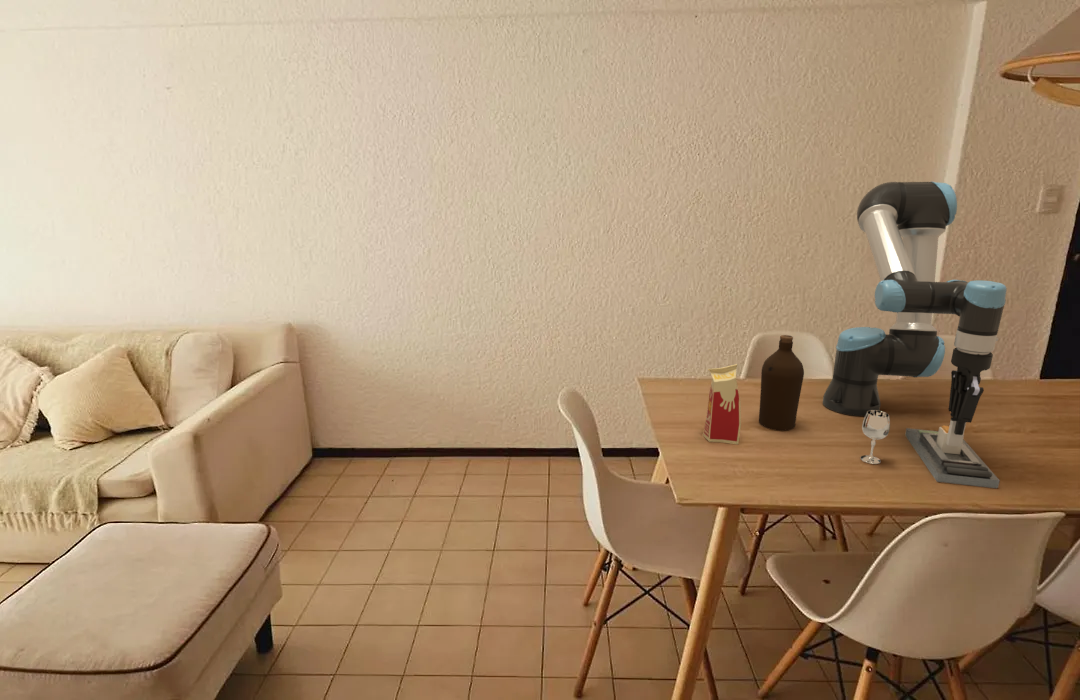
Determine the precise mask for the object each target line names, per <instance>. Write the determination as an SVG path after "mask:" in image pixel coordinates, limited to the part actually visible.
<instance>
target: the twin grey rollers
mask: <svg viewBox="0 0 1080 700" xmlns="http://www.w3.org/2000/svg"><path fill="white" fill-rule="evenodd" d="M943 468H944V469H946V471H947V473H950V474H959V475H968V476H977V477H986V478H990V477H992V473H991V472H989V471H988V468H989V467H988V468H986V467H981V466H972V465H962V464H953V463H944V464H943Z"/></svg>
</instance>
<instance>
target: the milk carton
mask: <svg viewBox="0 0 1080 700" xmlns="http://www.w3.org/2000/svg"><path fill="white" fill-rule="evenodd" d="M737 368H738V363H735V364H731V365H728V366H727V365H726V366H724V367H718V368H717V367H716V368H708V369H707V370H708V371H709V372H710V375H711V377H712V379H711V384H710V388H709V394H708V400H707V401H708V402H707V409H706V418H705V422H704V428H703V432H702V433H703V434H702V436H703V437H704V438H705V440H707V441H708V442H709V443H724V444H731V445H732V444H733V445H739V441H740V433H741V426H742V415H741V411H742V410H741V395H740V391H739V387H738V381H737Z"/></svg>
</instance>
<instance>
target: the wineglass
mask: <svg viewBox="0 0 1080 700" xmlns="http://www.w3.org/2000/svg"><path fill="white" fill-rule="evenodd" d="M890 428H891V419H890V415H889V414H888V413H887V412H885V411H882V410H880V411H878V410H869V411H867V413H866V415H865V416H864V418H863V421H862V426H861V429H862V433H863V435H865V436H866V437H867V438H869V439H870V440H871V439H872V440H871V441H870V446H871V447H870V448H871V449H870V453H869V455H866V454H864V455H861V456H860V457H859V458H860V460H861V461H862V462H863V463H867V464H870V465H871V464H872V465H877V464H878V465H879V464H881V462H882V461H881V459H880V458H878V457H877V456H874V455H873V452H874V448H875V446H876V444H877V440H883V439H884V438H886V437H887V436H888V435H889V432H890Z"/></svg>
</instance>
